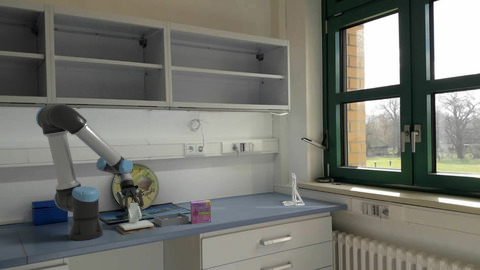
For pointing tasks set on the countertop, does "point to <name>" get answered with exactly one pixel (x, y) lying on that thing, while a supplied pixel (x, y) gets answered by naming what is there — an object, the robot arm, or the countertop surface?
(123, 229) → the pad
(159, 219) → the tub
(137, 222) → the white t-shaped stand
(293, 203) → the film strip holder
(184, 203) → the countertop surface
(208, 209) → the box
